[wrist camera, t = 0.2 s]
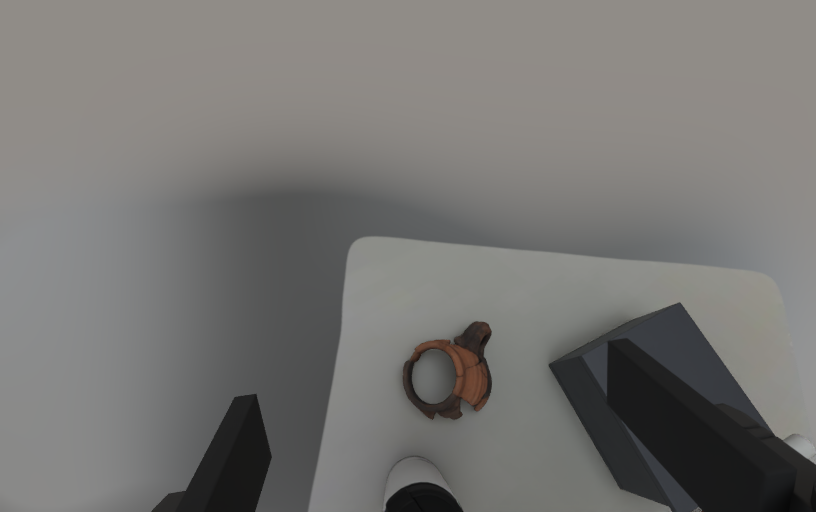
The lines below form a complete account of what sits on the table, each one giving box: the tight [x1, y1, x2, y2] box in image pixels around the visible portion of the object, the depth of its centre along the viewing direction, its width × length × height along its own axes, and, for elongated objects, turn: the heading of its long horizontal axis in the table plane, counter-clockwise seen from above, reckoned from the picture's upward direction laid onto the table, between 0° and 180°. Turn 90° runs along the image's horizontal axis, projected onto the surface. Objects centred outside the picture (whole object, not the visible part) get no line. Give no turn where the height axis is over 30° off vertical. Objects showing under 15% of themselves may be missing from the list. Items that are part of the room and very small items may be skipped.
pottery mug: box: [403, 322, 492, 420], centre depth 48 cm, size 12×10×8 cm
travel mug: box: [382, 456, 463, 512], centre depth 37 cm, size 6×7×20 cm
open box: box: [549, 305, 672, 506], centre depth 46 cm, size 15×12×9 cm
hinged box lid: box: [578, 303, 816, 512], centre depth 38 cm, size 16×12×8 cm
